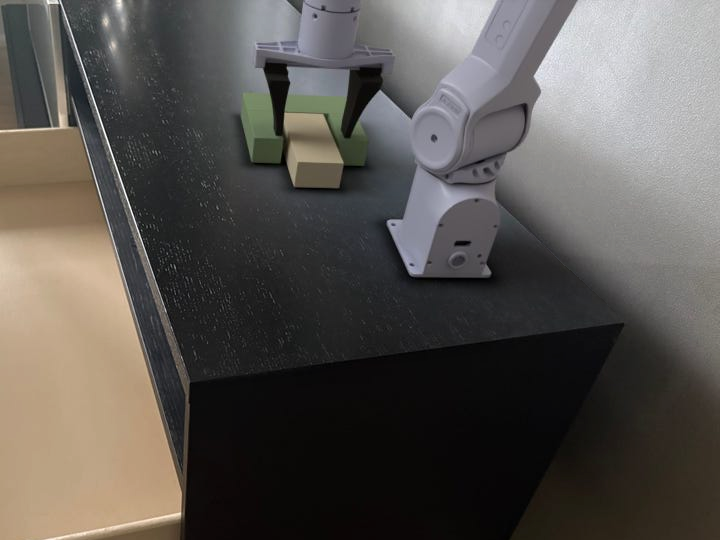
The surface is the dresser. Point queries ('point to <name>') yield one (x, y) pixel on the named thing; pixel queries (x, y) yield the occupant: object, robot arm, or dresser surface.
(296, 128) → the cream block
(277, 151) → the green u-shaped block
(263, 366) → the dresser surface
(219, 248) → the dresser surface
